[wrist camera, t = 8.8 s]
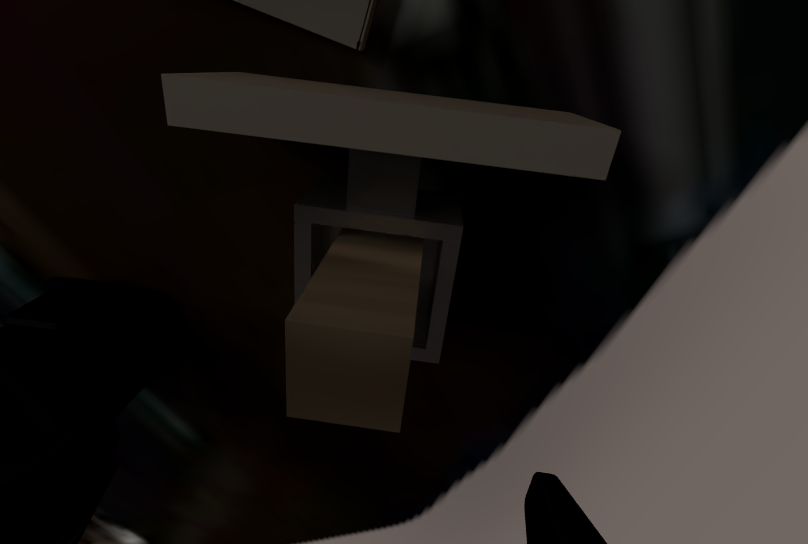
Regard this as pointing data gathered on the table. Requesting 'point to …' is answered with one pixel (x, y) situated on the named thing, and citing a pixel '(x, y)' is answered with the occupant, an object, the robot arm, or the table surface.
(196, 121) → the board
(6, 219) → the table surface
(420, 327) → the square open holder
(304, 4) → the baseboard molding
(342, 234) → the rail post
